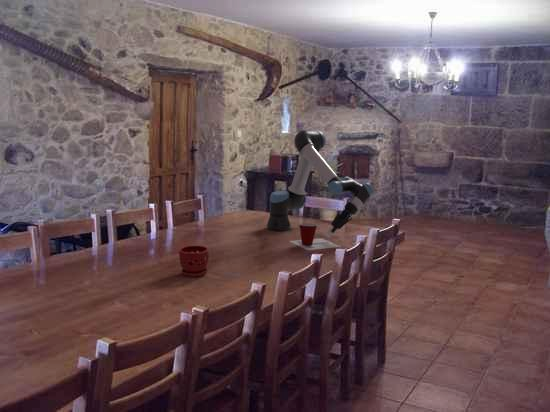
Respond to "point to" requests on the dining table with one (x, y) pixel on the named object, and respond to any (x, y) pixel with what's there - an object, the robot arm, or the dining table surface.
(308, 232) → the plastic cup
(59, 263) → the dining table surface
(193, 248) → the plant pot
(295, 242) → the placemat
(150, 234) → the dining table surface
